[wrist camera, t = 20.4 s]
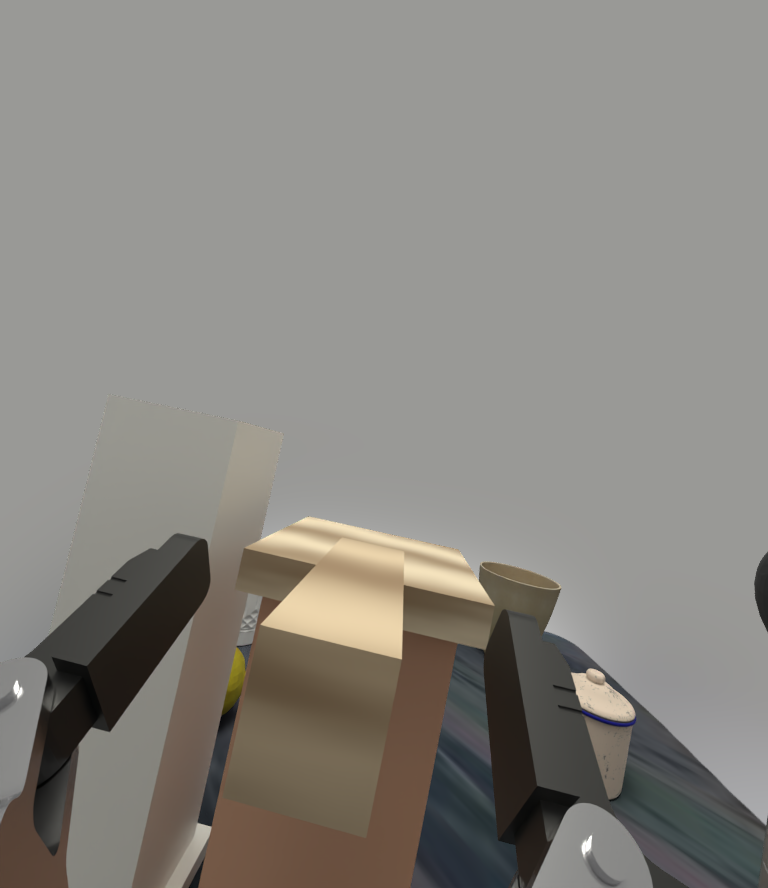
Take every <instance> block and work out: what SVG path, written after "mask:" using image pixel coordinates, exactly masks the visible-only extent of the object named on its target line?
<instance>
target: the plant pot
mask: <svg viewBox="0 0 768 888" xmlns="http://www.w3.org/2000/svg"><path fill="white" fill-rule="evenodd" d="M479 582H480V584H481V585H482V587H483V588H484V590H485V591H486V593H487V595H488V596H489V598H490V599H491V601H492V602H493V604H494V605H495V607H494V613H493V618H492V623H491V629H490V634H489V639H490V637H491V635H492V632H493V630H494V628H495V625H496V623H497V621H498V618H499V616H500V614H501V612H502V610H503V609H506V610H511V611H515V612H519V613H524V614H528V615H532V616H534V617H535V618H536V620H537V622H538V626H539V630H540V634H541V636H542V634H543V632H544V630H545V628H546V626H547V624H548V622H549V619H550V617H551V615H552V612H553V610H554V607H555V604H556V602H557V599H558V596H559V593H560V590H561V586H560V585H559V584H558V583H557V582H555V581H553V580H551V579H549V578H547V577H545V576H542V575H540V574H537V573H535V572H532V571H529V570H525V569H522V568H519V567H515V566H511V565H506V564H502V563H495V562H481V563H480V573H479ZM489 639H488V642H489ZM483 650H484V649H483ZM485 651H486V650H484V653H485Z"/></svg>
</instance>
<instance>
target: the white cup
mask: <svg viewBox="0 0 768 888" xmlns="http://www.w3.org/2000/svg"><path fill="white" fill-rule="evenodd" d="M262 597H263V596H258V595H254V594H250V593H248V597H247V602H246V606H245V611H244V615H243V619H242V624H241V628H240V633H239V637H238V642H237V646H244V645H249V644H252V642H253V637H254V633H255V628H256V624H257V619H258V615H259V610H260V606H261V601H262Z"/></svg>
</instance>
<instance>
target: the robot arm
mask: <svg viewBox="0 0 768 888" xmlns="http://www.w3.org/2000/svg"><path fill="white" fill-rule="evenodd" d="M210 581H211V576H210V565H209V553H208V543H207V541H206V540H205V539H202V538H198V537H194V536H189V535H185V534H181V533H176V534H174V535H172V536H171V537H170V538H169V539H168V540H167V541H166V542H165V543H164V544H163V545H162V546H161V547H160V548H159V549H158V550H157V549H152V548H150V549H148V550H146V551H144V552H143V553H141V554H139V555H137V556H135V557H133V558H132V559H130V560H128V561H127V562H126V563H125V564H124V565H123V566H122V567H121V568H120V569H119V570H118V571H117V572H116V573H114V574H113V575H112V576H111V579H110V580H107V581H106V582H105V583H104V584H103V585H102V586H101V587H100V588H99V589H98V590H97V592H96V593H95V594H92V595H91V596H90V597H89V598H88V599H87V600H86V601H85V602H84V603H83V604H82V605H81V606H80V607H78V608H77V609H76V610H75V611H74V612H73V613H72V614H71V615H70V616H69V617H68V618H67V619H66V620H65V621H64V622H63V623H62V624H60V625H59V626H58V627H57V628H56V629H55V630H54V631H53V632H52V633H51V634H50V635H49V636H48V637H47V638H46V639H45V640H44V641H43V642H41V643H40V644H39V645H38V646H37V647H36V648H35V649H34V650H33V651H32V652H30V653H29V654H28V655H26V656H25V657H23V658H15V659H11V660H7V661H4V662H1V663H0V888H68V878H67V870H66V855H67V845H68V837H69V829H70V821H71V812H72V804H73V796H74V788H75V780H76V772H77V764H78V755H79V743H80V742H81V741H82V739H83V738H84V737H85V735H86V734H87V733H88V731H89V730H90V729H91V727H92V728H96V729H99V730H103V731H107V732H110V731H111V730H112V729H113V727H114V726H115V724H116V723H117V722H118V720H119V719H120V717H121V716H122V715H123V713H124V712H125V710H126V709H127V708H128V706H129V705H130V703H131V702H132V701H133V699H134V698H135V696H136V695H137V694H138V692H139V691H140V689H141V688H142V687H143V685H144V684H145V682H146V681H147V680H148V678H149V677H150V675H151V674H152V673H153V671H154V670H155V668H156V667H157V666H158V664H159V663H160V661H161V660H162V659H163V657H164V656H165V654H166V653H167V652H168V650H169V649H170V647H171V646H172V645H173V643H174V642H175V640H176V639H177V638H178V636H179V635H180V633H181V632H182V631H183V629H184V628H185V626H186V625H187V624H188V622H189V621H190V619H191V618H192V617H193V615H194V614H195V612H196V611H197V610H198V608H199V607H200V605H201V604H202V603H203V601H204V599H205V597H206V595H207V593H208V590H209V587H210ZM754 585H755V599H756V603H757V606H758V610H759V613H760V617H761V619H762V621H763V623H764V625H765V627H766V629H767V632H768V552H767V553H766V555H765V556H764V557H763V558H762V560H761V561H760V563H759V566H758V568H757V572H756V577H755V583H754ZM484 680H485V692H486V703H487V715H488V727H489V739H490V750H491V762H492V774H493V786H494V797H495V809H496V821H497V833H498V841H502V842H506V843H509V844H513V845H516V853H517V862H518V870H517V871H516V873H515V875H514V877H513V879H512V881H511V883H510V885H509V887H508V888H689V887H687V886H686V885H684V884H683V883H681V882H680V881H678V880H677V879H675V878H674V877H672V876H671V875H669V874H668V873H666V872H665V871H663V870H662V869H660V868H659V867H658V866H656V865H655V864H654V863H652V862H651V861H650V860H649V859H648V858H647V857H646V856H645V855H644V854H643V853H642V852H641V850H640V849H639V847H638V845H637V843H636V842H635V840H634V839H633V837H632V836H631V835H630V833H629V832H628V831H627V829H626V828H625V827H624V826H623V825H622V824H621V823H620V822H619V821H618V820H617V818H616V816H615V814H614V812H613V810H612V807H611V805H610V802H609V799H608V796H607V792H606V789H605V786H604V782H603V779H602V775H601V772H600V769H599V765H598V762H597V759H596V755H595V752H594V748H593V745H592V742H591V738H590V735H589V731H588V728H587V725H586V721H585V718H584V716H582V708H581V704H580V701H579V698H578V695H576V687H575V684H574V681H573V677H572V674H571V671H570V667H569V665H568V664H567V662H566V661H565V659H564V657H563V656H562V654H561V653H560V651H559V650H558V648H557V647H556V645H555V644H553V643H549V642H544V641H542V638H541V634H540V630H539V626H538V622H537V620H536V618H535V617H534V616H532V615H528V614H524V613H519V612H515V611H511V610H506V609H503V610H502V612H501V614H500V616H499V618H498V621H497V623H496V625H495V628H494V630H493V632H492V635H491V637H490V639H489V642H488V644H487V647H486V651H485V656H484ZM758 888H768V818H767V825H766V832H765V839H764V845H763V855H762V862H761V868H760V875H759V882H758Z"/></svg>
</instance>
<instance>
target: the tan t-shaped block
mask: <svg viewBox="0 0 768 888" xmlns="http://www.w3.org/2000/svg"><path fill="white" fill-rule="evenodd" d="M235 590H237V591H242V592H246V593H250V594H254V595H258V596H263V597H267V598H271V599H275V600H279V601H282V602H281V603H280V604H279V605H278V606H277V607H276V608H275V610H274V611H273V612H272V613H271V614H270V615H269V616H268V617H267V618H266V619H265V620H264V621H263V622H262V623H261V625H260V628H259V633H258V637H257V642H256V646H255V651H254V655H253V660H252V664H251V669H250V673H249V678H248V683H247V687H246V692H245V696H244V701H243V705H242V710H241V714H240V719H239V723H238V728H237V732H236V737H235V742H234V746H233V751H232V755H231V760H230V764H229V769H228V773H227V778H226V782H225V787H224V791H223V796H222V798H225V799H228V800H232V801H236V802H239V803H243V804H246V805H250V806H253V807H257V808H260V809H264V810H268V811H271V812H275V813H278V814H282V815H285V816H289V817H292V818H296V819H300V820H303V821H307V822H310V823H314V824H317V825H321V826H324V827H328V828H332V829H335V830H339V831H342V832H346V833H349V834H353V835H357V836H360V837H364V838H366V836H367V831H368V826H369V822H370V817H371V812H372V807H373V802H374V797H375V792H376V787H377V782H378V777H379V772H380V767H381V762H382V757H383V752H384V747H385V742H386V737H387V732H388V727H389V722H390V717H391V712H392V707H393V702H394V697H395V692H396V687H397V682H398V677H399V672H400V667H401V662H402V634H403V630H404V631H409V632H413V633H417V634H421V635H425V636H430V637H434V638H438V639H442V640H446V641H450V642H455V643H459V644H463V645H467V646H471V647H475V648H480V649H484V650H486V647H487V644H488V639H489V634H490V629H491V623H492V618H493V613H494V607H495V605H494V604H493V602H492V601H491V599H490V598H489V596H488V595H487V593H486V591H485V590H484V588H483V587H482V585H481V584H480V582H479V581H478V579H477V578H476V576H475V575H474V573H473V571H472V570H471V568H470V567H469V565H468V564H467V562H466V560H465V559H464V557H463V556H462V554H461V553H460V551H459V550H458V549H454V548H449V547H445V546H440V545H436V544H431V543H427V542H422V541H418V540H413V539H409V538H404V537H399V536H395V535H391V534H386V533H381V532H377V531H372V530H368V529H364V528H359V527H355V526H350V525H345V524H341V523H336V522H332V521H327V520H323V519H318V518H314V517H309V516H308V517H306V518H304V519H302V520H300V521H298V522H296V523H294V524H292V525H290V526H288V527H286V528H284V529H282V530H280V531H278V532H275V533H273V534H272V535H269V536H267V537H265V538H263V539H261V540H259V541H257V542H255V543H253V544H251V545H249V546H247V547H245V548H244V550H243V554H242V559H241V563H240V567H239V572H238V576H237V581H236V585H235Z"/></svg>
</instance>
